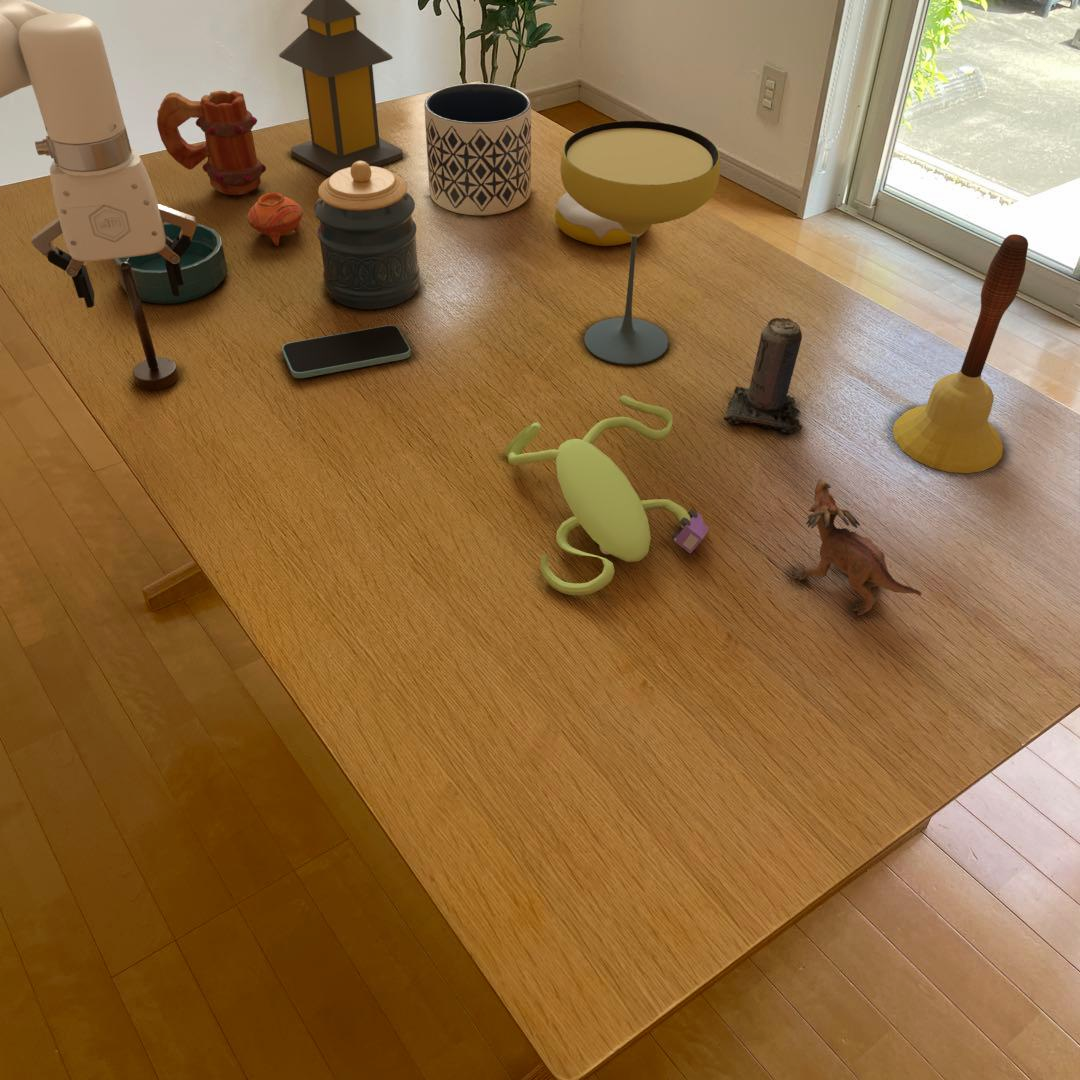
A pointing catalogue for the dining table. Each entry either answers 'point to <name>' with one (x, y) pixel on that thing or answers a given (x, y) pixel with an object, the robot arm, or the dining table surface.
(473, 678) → the dining table surface
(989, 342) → the handbell
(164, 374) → the disc-topped wooden rod
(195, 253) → the bowl
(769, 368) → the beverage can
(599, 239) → the donut
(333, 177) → the canister
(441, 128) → the planter
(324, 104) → the lantern
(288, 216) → the pot
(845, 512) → the dinosaur figurine
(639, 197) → the cocktail glass
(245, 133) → the mug
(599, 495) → the figurine
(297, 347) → the smartphone
